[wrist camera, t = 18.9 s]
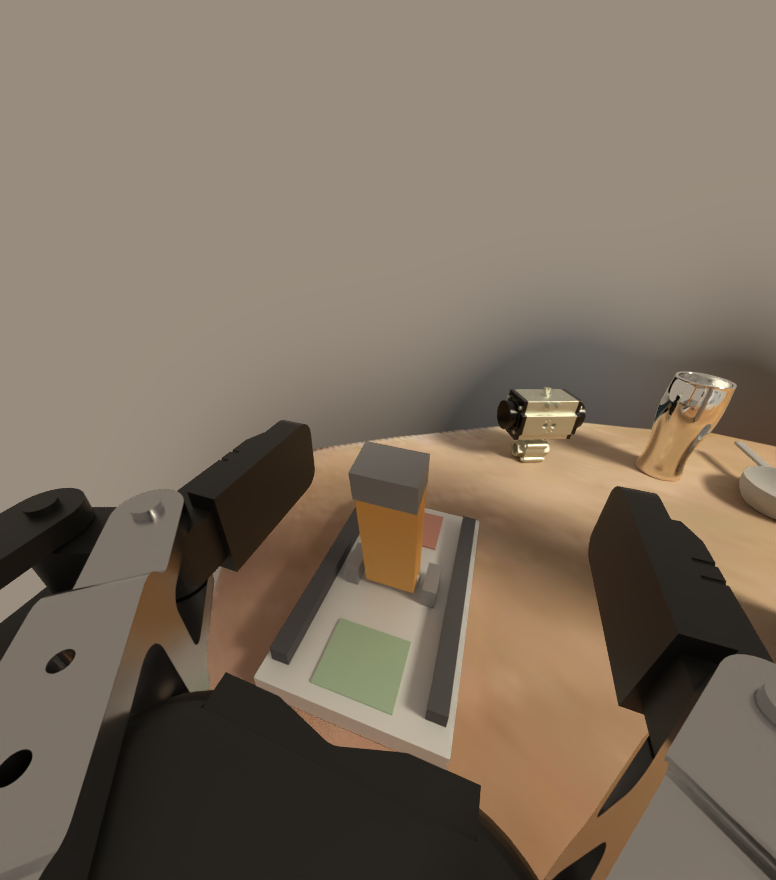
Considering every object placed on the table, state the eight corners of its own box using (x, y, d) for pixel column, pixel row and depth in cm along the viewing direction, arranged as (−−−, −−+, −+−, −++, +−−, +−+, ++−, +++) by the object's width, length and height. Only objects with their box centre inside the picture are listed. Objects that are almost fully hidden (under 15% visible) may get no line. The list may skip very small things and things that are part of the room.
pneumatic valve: (487, 450, 57) (502, 382, 51) (553, 449, 58) (575, 382, 52) (500, 469, 52) (519, 396, 46) (572, 467, 53) (598, 396, 48)
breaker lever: (414, 600, 30) (421, 489, 20) (363, 584, 31) (345, 472, 21) (422, 569, 32) (432, 454, 22) (374, 555, 33) (363, 440, 23)
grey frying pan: (762, 528, 43) (781, 504, 42) (689, 455, 59) (701, 435, 57) (866, 545, 42) (891, 522, 40) (763, 465, 57) (777, 446, 55)
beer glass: (673, 462, 56) (721, 374, 49) (693, 487, 50) (751, 391, 43) (626, 454, 58) (665, 368, 50) (640, 477, 52) (687, 384, 44)
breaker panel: (445, 772, 22) (454, 745, 20) (257, 691, 25) (248, 662, 23) (476, 533, 40) (482, 507, 38) (365, 505, 44) (365, 480, 42)
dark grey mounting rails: (445, 727, 22) (448, 717, 21) (271, 658, 25) (269, 648, 25) (473, 528, 38) (475, 519, 37) (364, 501, 41) (364, 492, 40)
